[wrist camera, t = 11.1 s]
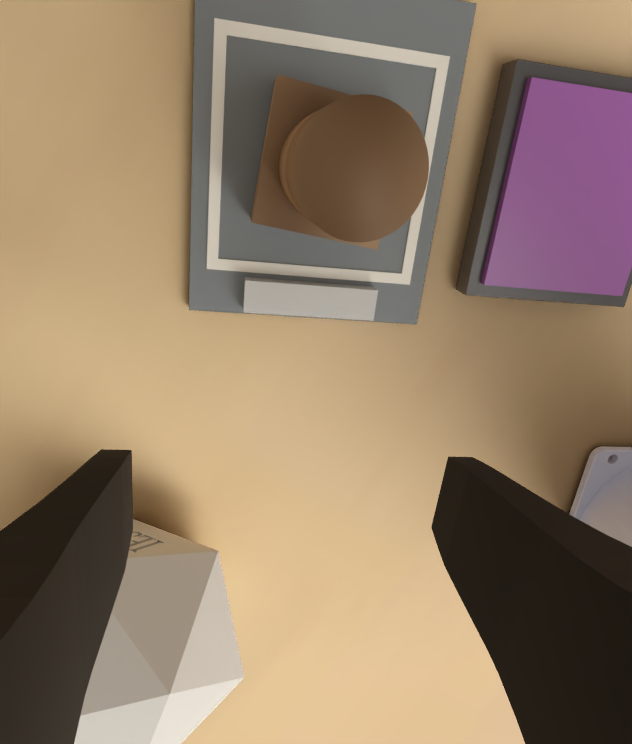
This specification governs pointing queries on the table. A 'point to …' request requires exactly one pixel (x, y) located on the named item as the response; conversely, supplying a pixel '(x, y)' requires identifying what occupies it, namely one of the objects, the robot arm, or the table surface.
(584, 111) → the ink pad
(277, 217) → the stamp
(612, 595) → the robot arm
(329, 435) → the table surface
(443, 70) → the grey framed plate
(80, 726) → the die
